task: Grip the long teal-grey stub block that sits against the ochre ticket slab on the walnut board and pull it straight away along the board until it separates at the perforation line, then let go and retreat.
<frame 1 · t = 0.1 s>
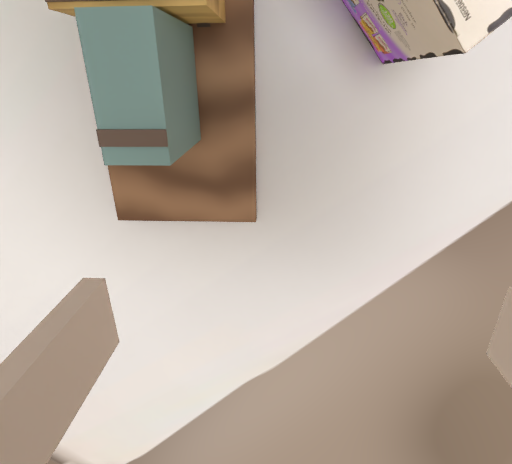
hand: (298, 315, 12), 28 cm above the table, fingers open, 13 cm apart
stub: (152, 89, 29), point 7 cm above the table, slide at 0.0 cm
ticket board: (176, 99, 36), on the table
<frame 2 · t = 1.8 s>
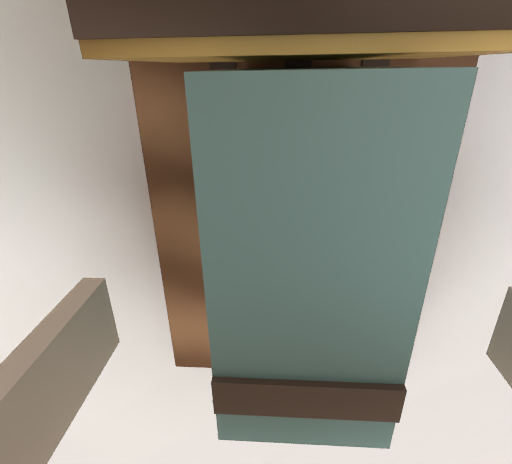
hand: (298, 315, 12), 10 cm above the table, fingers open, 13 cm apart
stub: (300, 216, 13), point 7 cm above the table, slide at 0.0 cm
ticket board: (293, 187, 20), on the table
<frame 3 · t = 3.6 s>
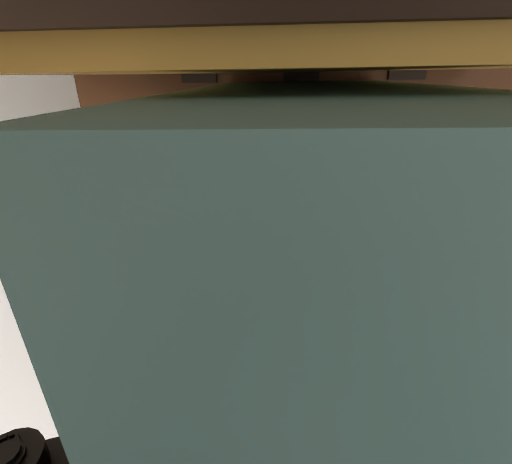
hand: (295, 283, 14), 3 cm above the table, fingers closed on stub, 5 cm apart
stub: (306, 304, 9), point 7 cm above the table, slide at 0.0 cm, touching gripper
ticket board: (293, 231, 16), on the table
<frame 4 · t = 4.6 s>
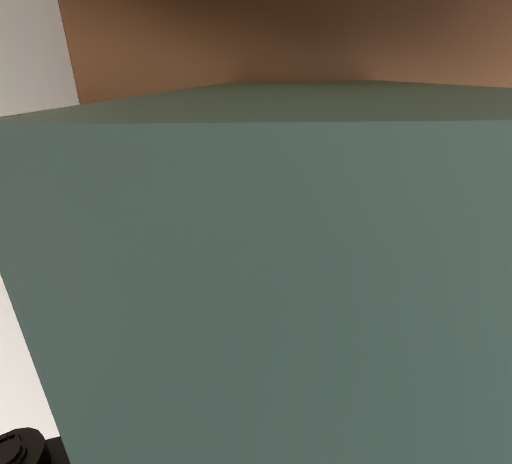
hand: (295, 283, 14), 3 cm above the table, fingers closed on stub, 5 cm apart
stub: (306, 304, 9), point 7 cm above the table, slide at 2.8 cm, touching gripper
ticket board: (295, 169, 14), on the table
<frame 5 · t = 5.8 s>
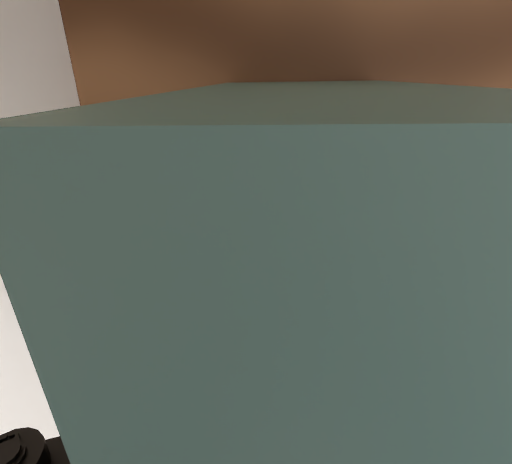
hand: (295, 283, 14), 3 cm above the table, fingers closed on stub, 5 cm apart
stub: (306, 304, 9), point 7 cm above the table, slide at 7.9 cm, touching gripper
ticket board: (300, 28, 12), on the table
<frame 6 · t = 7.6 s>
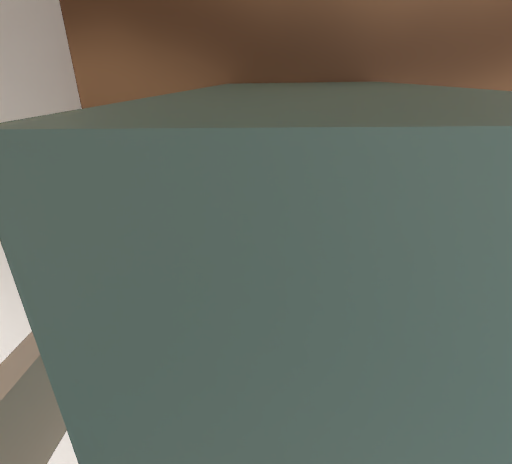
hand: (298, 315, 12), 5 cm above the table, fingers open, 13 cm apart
stub: (305, 303, 9), point 7 cm above the table, slide at 8.0 cm
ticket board: (299, 28, 12), on the table
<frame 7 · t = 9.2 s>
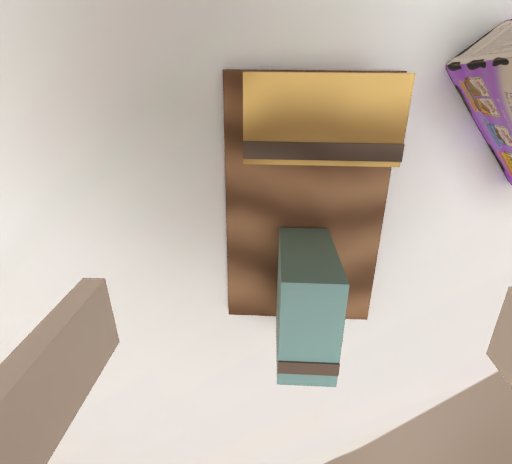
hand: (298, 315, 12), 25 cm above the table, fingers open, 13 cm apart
candy box: (505, 108, 32), on the table
stub: (305, 299, 33), point 7 cm above the table, slide at 8.0 cm
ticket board: (303, 207, 37), on the table
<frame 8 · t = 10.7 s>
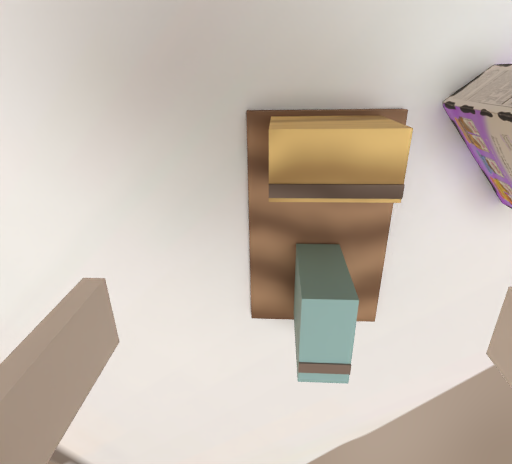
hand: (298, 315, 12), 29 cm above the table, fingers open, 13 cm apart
candy box: (496, 138, 36), on the table
stub: (320, 308, 38), point 7 cm above the table, slide at 8.0 cm
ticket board: (317, 225, 41), on the table
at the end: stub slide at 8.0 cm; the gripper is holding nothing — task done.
